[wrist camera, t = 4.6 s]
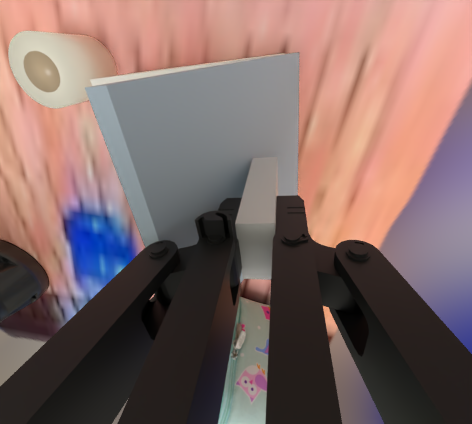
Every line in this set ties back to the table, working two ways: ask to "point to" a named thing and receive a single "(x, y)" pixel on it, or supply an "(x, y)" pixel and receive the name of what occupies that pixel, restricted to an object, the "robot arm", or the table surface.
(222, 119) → the lid
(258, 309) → the lunch box
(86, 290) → the table surface
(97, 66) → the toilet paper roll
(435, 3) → the table surface
